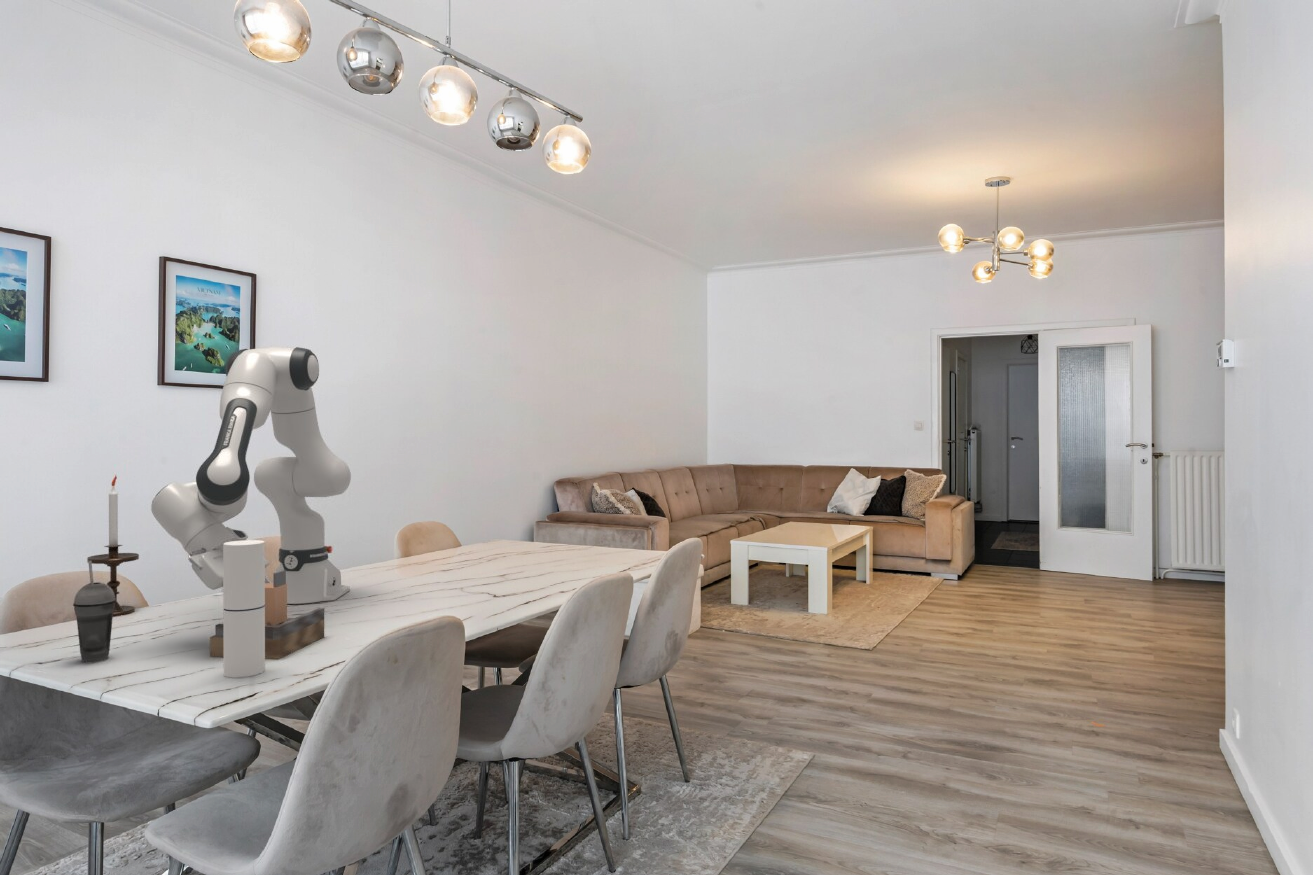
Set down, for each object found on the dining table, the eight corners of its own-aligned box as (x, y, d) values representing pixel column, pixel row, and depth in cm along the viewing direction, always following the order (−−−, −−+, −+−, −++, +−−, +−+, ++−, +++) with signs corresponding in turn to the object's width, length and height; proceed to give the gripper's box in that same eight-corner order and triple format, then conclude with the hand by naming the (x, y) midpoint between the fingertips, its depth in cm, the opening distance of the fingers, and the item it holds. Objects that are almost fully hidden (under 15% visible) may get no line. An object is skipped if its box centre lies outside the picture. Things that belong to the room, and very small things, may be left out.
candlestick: (149, 608, 212) (148, 473, 211) (117, 618, 201) (116, 476, 201) (110, 607, 213) (109, 473, 213) (76, 617, 202) (75, 475, 202)
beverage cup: (94, 665, 162) (94, 564, 161) (63, 663, 163) (63, 563, 163) (125, 655, 169) (125, 558, 169) (95, 653, 170) (95, 557, 170)
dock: (262, 634, 186) (261, 605, 186) (324, 636, 185) (324, 607, 185) (209, 656, 168) (209, 624, 168) (278, 659, 167) (278, 627, 167)
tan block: (264, 623, 179) (264, 569, 179) (287, 623, 179) (286, 569, 179) (252, 628, 174) (252, 573, 174) (274, 629, 174) (274, 573, 174)
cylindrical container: (221, 679, 153) (221, 546, 153) (225, 668, 160) (224, 541, 160) (264, 674, 156) (264, 544, 156) (265, 664, 163) (265, 539, 162)
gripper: (195, 542, 166) (242, 591, 166) (247, 530, 187) (290, 573, 187) (173, 564, 166) (221, 613, 166) (228, 549, 187) (271, 592, 187)
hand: (258, 592), depth 177 cm, fingers open, 8 cm apart
